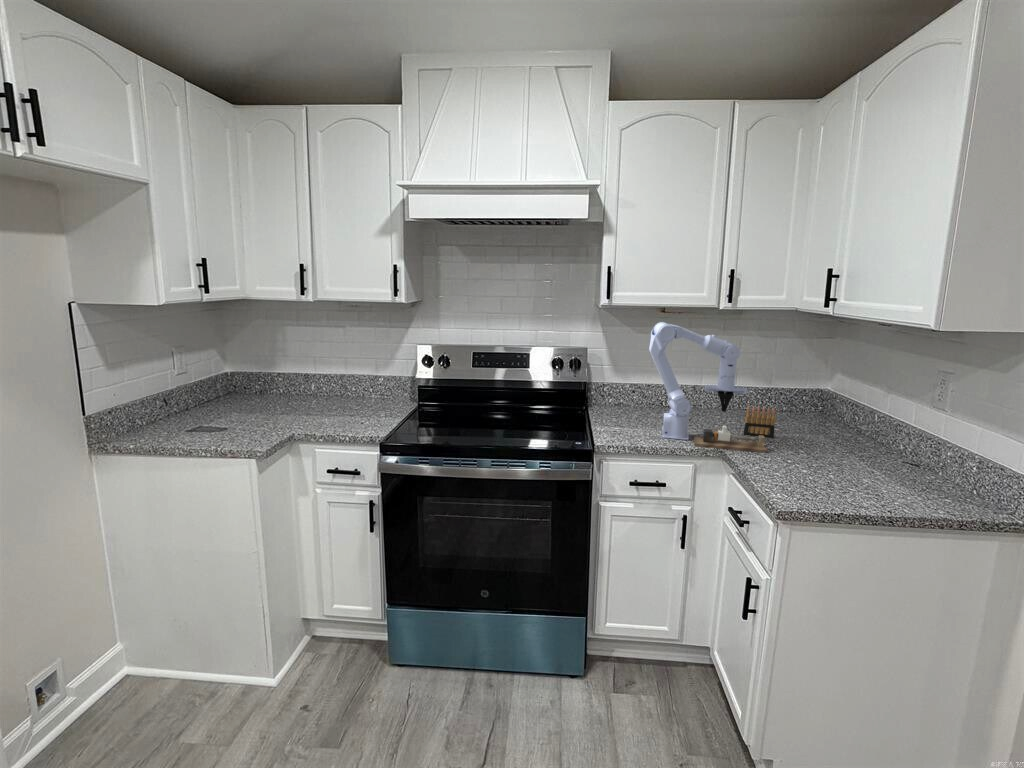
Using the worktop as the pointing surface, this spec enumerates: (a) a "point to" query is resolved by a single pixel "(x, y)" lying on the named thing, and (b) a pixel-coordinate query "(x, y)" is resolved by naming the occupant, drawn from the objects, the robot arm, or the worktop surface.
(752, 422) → the ammunition clip
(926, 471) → the worktop surface
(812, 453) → the worktop surface
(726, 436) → the white slotted bracket
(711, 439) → the rail board
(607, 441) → the worktop surface
